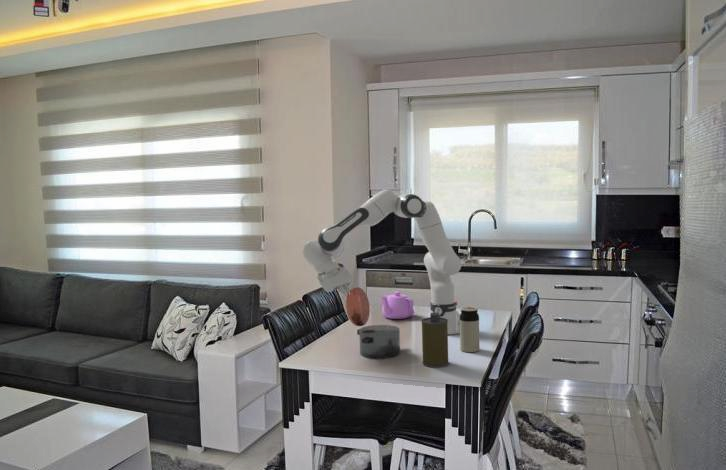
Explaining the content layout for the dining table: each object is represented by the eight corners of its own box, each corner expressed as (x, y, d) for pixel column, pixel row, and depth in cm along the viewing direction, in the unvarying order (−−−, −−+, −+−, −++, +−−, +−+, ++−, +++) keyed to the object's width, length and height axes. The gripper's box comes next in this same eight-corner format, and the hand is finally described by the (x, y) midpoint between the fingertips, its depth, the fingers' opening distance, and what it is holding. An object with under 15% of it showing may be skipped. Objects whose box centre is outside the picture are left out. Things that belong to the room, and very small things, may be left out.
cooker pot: (374, 343, 251) (374, 321, 250) (410, 347, 242) (410, 324, 241) (345, 358, 230) (344, 334, 229) (383, 363, 221) (383, 338, 220)
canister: (448, 368, 212) (447, 316, 211) (421, 367, 214) (419, 316, 213) (449, 359, 223) (448, 310, 221) (423, 359, 225) (422, 310, 223)
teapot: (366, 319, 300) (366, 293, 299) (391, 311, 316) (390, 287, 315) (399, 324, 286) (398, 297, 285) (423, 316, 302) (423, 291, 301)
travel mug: (476, 353, 230) (475, 310, 229) (457, 351, 234) (457, 309, 232) (481, 348, 237) (481, 306, 236) (463, 346, 241) (463, 305, 239)
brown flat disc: (372, 321, 246) (367, 322, 247) (365, 284, 246) (360, 285, 248) (353, 330, 232) (347, 330, 233) (345, 290, 232) (340, 291, 233)
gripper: (319, 269, 235) (339, 293, 231) (345, 263, 253) (364, 285, 249) (311, 279, 238) (331, 303, 234) (337, 272, 256) (356, 295, 251)
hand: (348, 294), depth 241 cm, fingers closed
